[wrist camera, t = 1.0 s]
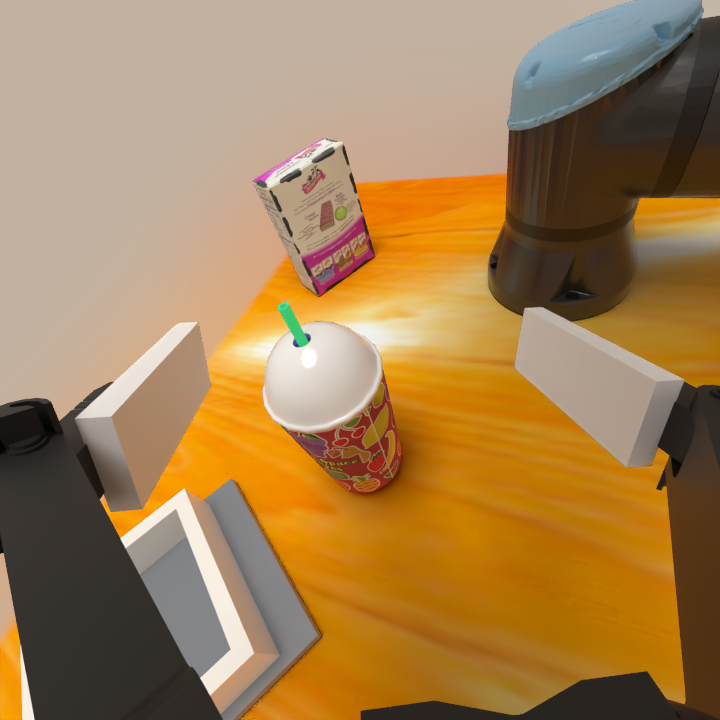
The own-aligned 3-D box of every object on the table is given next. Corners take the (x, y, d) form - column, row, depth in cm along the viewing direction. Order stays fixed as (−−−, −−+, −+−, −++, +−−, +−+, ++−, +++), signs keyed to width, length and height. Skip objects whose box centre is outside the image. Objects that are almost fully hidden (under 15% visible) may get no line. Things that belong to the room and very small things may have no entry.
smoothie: (309, 479, 35) (183, 338, 21) (357, 411, 39) (280, 249, 24) (381, 526, 31) (287, 390, 16) (429, 444, 34) (387, 272, 20)
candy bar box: (356, 246, 59) (322, 136, 47) (376, 256, 56) (346, 140, 44) (300, 286, 56) (249, 178, 44) (318, 298, 53) (269, 186, 41)
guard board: (236, 482, 37) (208, 460, 33) (322, 636, 27) (296, 630, 23) (40, 640, 32) (-17, 635, 28) (57, 901, 22) (-29, 947, 18)
